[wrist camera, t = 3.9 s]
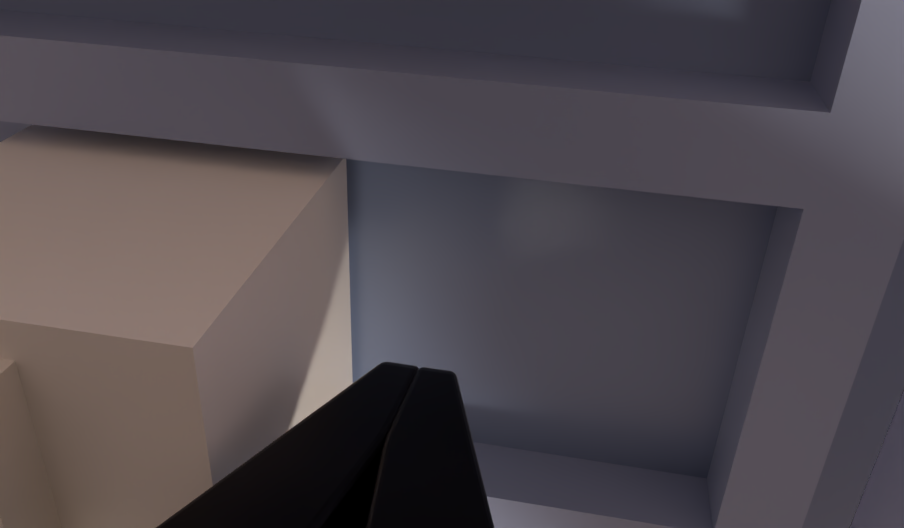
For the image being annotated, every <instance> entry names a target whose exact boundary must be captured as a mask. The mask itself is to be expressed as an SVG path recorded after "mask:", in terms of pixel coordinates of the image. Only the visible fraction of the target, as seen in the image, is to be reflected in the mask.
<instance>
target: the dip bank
mask: <svg viewBox="0 0 904 528" xmlns="http://www.w3.org/2000/svg"><path fill="white" fill-rule="evenodd" d="M31 125H41V126H50V127H59V128H68V129H77V130H86V131H96V132H105V133H114V134H123V135H132V136H141V137H150V138H159V139H169V140H178V141H187V142H196V143H205V144H214V145H223V146H232V147H242V148H251V149H260V150H269V151H278V152H287V153H296V154H305V155H315V156H324V157H333V158H342V159H346V167H347V202H348V237H349V273H350V308H351V343H352V379H353V383H354V382H355V381H357V380H358V379H359V378H361V377H362V376H363V375H365V374H366V373H367V372H369V371H370V370H372V369H373V368H374V367H376V366H377V365H378V364H380V363H382V362H394V363H401V364H407V365H414V366H417V367H418V368H421V367H428V368H434V369H441V370H448V371H452V372H454V373H455V374H456V376H457V379H458V383H459V387H460V391H461V395H462V399H463V403H464V407H465V411H466V415H467V419H468V423H469V427H470V431H471V435H472V439H473V443H474V447H475V452H476V456H477V460H478V464H479V468H480V472H481V476H482V480H483V484H484V488H485V492H486V496H487V500H488V504H489V508H490V512H491V516H492V520H493V524H494V528H850V526H851V523H852V520H853V518H854V515H855V513H856V510H857V508H858V505H859V503H860V500H861V498H862V495H863V493H864V490H865V487H866V485H867V482H868V480H869V477H870V475H871V472H872V470H873V467H874V465H875V462H876V459H877V457H878V454H879V452H880V449H881V447H882V444H883V442H884V439H885V437H886V434H887V432H888V429H889V426H890V424H891V421H892V419H893V416H894V414H895V411H896V409H897V406H898V404H899V401H900V398H901V396H902V393H903V391H904V0H0V142H1V141H3V140H5V139H7V138H9V137H11V136H12V135H14V134H16V133H18V132H20V131H22V130H24V129H25V128H27V127H29V126H31Z"/></svg>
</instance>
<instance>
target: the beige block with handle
mask: <svg viewBox="0 0 904 528" xmlns="http://www.w3.org/2000/svg"><path fill="white" fill-rule="evenodd" d="M352 383H353V379H352V343H351V308H350V273H349V237H348V202H347V167H346V159H342V158H333V157H324V156H315V155H305V154H296V153H287V152H278V151H269V150H260V149H251V148H242V147H232V146H223V145H214V144H205V143H196V142H187V141H178V140H169V139H159V138H150V137H141V136H132V135H123V134H114V133H105V132H96V131H86V130H77V129H68V128H59V127H50V126H41V125H31V126H29V127H27V128H25V129H24V130H22V131H20V132H18V133H16V134H14V135H12V136H11V137H9V138H7V139H5V140H3V141H1V142H0V528H156V527H157V526H159V525H160V524H161V523H163V522H164V521H165V520H167V519H168V518H169V517H171V516H172V515H174V514H175V513H176V512H178V511H179V510H180V509H182V508H183V507H184V506H186V505H187V504H189V503H190V502H191V501H193V500H194V499H195V498H197V497H198V496H199V495H201V494H202V493H204V492H205V491H206V490H208V489H209V488H210V487H212V486H213V485H214V484H216V483H217V482H219V481H220V480H221V479H223V478H224V477H225V476H227V475H228V474H230V473H231V472H232V471H234V470H235V469H236V468H238V467H239V466H240V465H242V464H243V463H245V462H246V461H247V460H249V459H250V458H251V457H253V456H254V455H255V454H257V453H258V452H260V451H261V450H262V449H264V448H265V447H266V446H268V445H269V444H270V443H272V442H273V441H275V440H276V439H277V438H279V437H280V436H281V435H283V434H284V433H286V432H287V431H288V430H290V429H291V428H292V427H294V426H295V425H296V424H298V423H299V422H301V421H302V420H303V419H305V418H306V417H307V416H309V415H310V414H311V413H313V412H314V411H316V410H317V409H318V408H320V407H321V406H322V405H324V404H325V403H326V402H328V401H329V400H331V399H332V398H333V397H335V396H336V395H337V394H339V393H340V392H342V391H343V390H344V389H346V388H347V387H348V386H350V385H351V384H352Z"/></svg>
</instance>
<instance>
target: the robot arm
mask: <svg viewBox="0 0 904 528" xmlns="http://www.w3.org/2000/svg"><path fill="white" fill-rule="evenodd" d="M156 528H494V524H493V520H492V516H491V512H490V508H489V504H488V500H487V496H486V492H485V488H484V484H483V480H482V476H481V472H480V468H479V464H478V460H477V456H476V452H475V447H474V443H473V439H472V435H471V431H470V427H469V423H468V419H467V415H466V411H465V407H464V403H463V399H462V395H461V391H460V387H459V383H458V379H457V376H456V374H455V373H454V372H452V371H448V370H441V369H434V368H428V367H421V368H418V367H417V366H414V365H407V364H401V363H394V362H382V363H380V364H378V365H377V366H376V367H374V368H373V369H372V370H370V371H369V372H367V373H366V374H365V375H363V376H362V377H361V378H359V379H358V380H357V381H355V382H354V383H352V384H351V385H350V386H348V387H347V388H346V389H344V390H343V391H342V392H340V393H339V394H337V395H336V396H335V397H333V398H332V399H331V400H329V401H328V402H326V403H325V404H324V405H322V406H321V407H320V408H318V409H317V410H316V411H314V412H313V413H311V414H310V415H309V416H307V417H306V418H305V419H303V420H302V421H301V422H299V423H298V424H296V425H295V426H294V427H292V428H291V429H290V430H288V431H287V432H286V433H284V434H283V435H281V436H280V437H279V438H277V439H276V440H275V441H273V442H272V443H270V444H269V445H268V446H266V447H265V448H264V449H262V450H261V451H260V452H258V453H257V454H255V455H254V456H253V457H251V458H250V459H249V460H247V461H246V462H245V463H243V464H242V465H240V466H239V467H238V468H236V469H235V470H234V471H232V472H231V473H230V474H228V475H227V476H225V477H224V478H223V479H221V480H220V481H219V482H217V483H216V484H214V485H213V486H212V487H210V488H209V489H208V490H206V491H205V492H204V493H202V494H201V495H199V496H198V497H197V498H195V499H194V500H193V501H191V502H190V503H189V504H187V505H186V506H184V507H183V508H182V509H180V510H179V511H178V512H176V513H175V514H174V515H172V516H171V517H169V518H168V519H167V520H165V521H164V522H163V523H161V524H160V525H159V526H157V527H156Z"/></svg>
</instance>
